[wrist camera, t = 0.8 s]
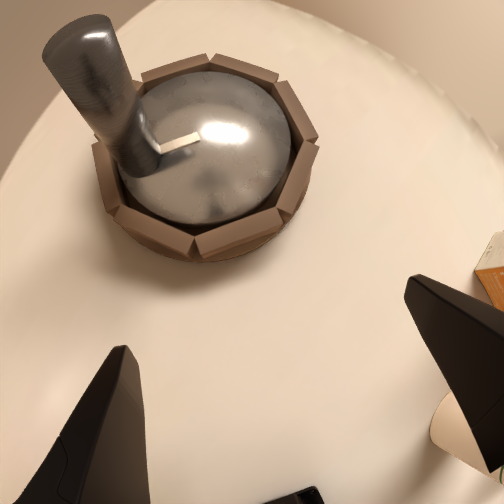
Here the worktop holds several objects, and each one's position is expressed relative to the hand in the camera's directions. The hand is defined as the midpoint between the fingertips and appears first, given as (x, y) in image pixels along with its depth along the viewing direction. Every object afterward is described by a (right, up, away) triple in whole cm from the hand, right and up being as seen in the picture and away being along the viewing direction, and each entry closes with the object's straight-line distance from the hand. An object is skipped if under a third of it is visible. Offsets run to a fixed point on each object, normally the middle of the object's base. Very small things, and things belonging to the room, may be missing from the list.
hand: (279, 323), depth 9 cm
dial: (-4, +10, +13) cm, 17 cm away
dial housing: (-5, +10, +15) cm, 18 cm away
